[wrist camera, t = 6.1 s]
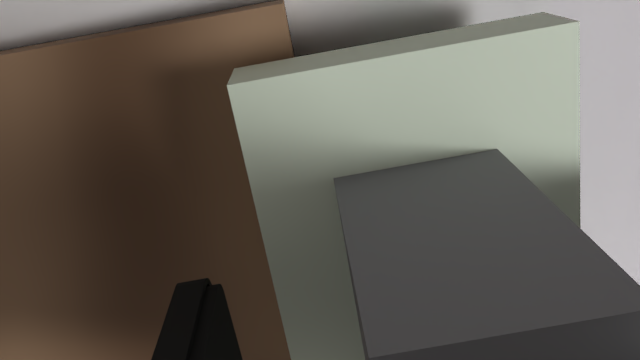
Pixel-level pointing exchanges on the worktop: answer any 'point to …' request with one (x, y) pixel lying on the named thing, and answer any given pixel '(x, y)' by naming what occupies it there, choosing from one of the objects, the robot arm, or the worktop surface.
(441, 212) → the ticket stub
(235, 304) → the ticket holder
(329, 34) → the worktop surface
